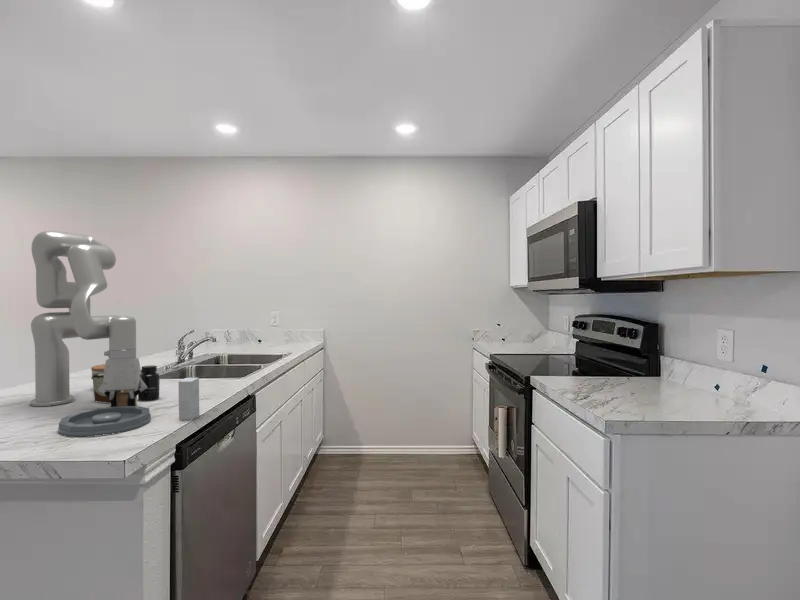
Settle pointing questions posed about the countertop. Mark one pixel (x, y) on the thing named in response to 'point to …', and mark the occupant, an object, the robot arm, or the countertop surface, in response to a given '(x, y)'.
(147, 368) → the supplement bottle
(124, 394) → the walnut bead
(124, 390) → the oak bead
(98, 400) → the food container
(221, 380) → the countertop surface
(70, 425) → the slate tray
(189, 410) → the skincare box
